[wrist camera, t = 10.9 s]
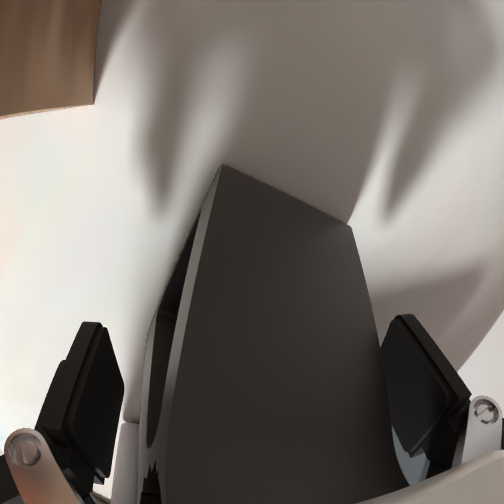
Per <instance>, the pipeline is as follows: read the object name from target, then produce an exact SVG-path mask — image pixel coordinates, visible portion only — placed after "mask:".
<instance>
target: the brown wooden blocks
mask: <svg viewBox="0 0 504 504" xmlns="http://www.w3.org/2000/svg"><path fill="white" fill-rule="evenodd" d="M100 6H101V0H0V119H5V118H10V117H16V116H21V115H27V114H33V113H40V112H47V111H53V110H59V109H65V108H71V107H78V106H86V105H93V91H94V66H95V51H96V40H97V30H98V21H99V13H100Z"/></svg>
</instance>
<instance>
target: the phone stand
mask: <svg viewBox="0 0 504 504" xmlns="http://www.w3.org/2000/svg"><path fill="white" fill-rule="evenodd" d="M408 486H410V484H409V483H408V481H407V479H406V478H405V476H404V474H403V472H402V470H401V467H400V465H399V462H398V459H397V455H396V451H395V447H394V441H393V433H392V424H391V416H390V408H389V401H388V394H387V387H386V381H385V374H384V368H383V363H382V357H381V351H380V346H379V341H378V336H377V331H376V326H375V321H374V316H373V312H372V307H371V303H370V298H369V294H368V290H367V285H366V281H365V277H364V273H363V269H362V265H361V261H360V257H359V254H358V250H357V246H356V243H355V239H354V235H353V232H352V228H351V227H350V226H349V225H347V224H345V223H343V222H341V221H339V220H337V219H335V218H333V217H331V216H329V215H328V214H326V213H324V212H322V211H320V210H318V209H316V208H314V207H312V206H310V205H308V204H306V203H304V202H302V201H300V200H298V199H296V198H294V197H292V196H290V195H288V194H286V193H284V192H281V191H279V190H277V189H275V188H273V187H271V186H269V185H267V184H265V183H263V182H260V181H258V180H256V179H254V178H252V177H250V176H248V175H245V174H243V173H241V172H239V171H237V170H234V169H232V168H230V167H228V166H225V165H223V164H222V165H221V166H220V168H219V170H218V172H217V174H216V176H215V178H214V180H213V182H212V184H211V186H210V188H209V190H208V193H207V195H206V197H205V199H204V201H203V203H202V205H201V208H200V210H199V212H198V214H197V216H196V219H195V221H194V223H193V225H192V227H191V230H190V232H189V234H188V236H187V239H186V241H185V243H184V246H183V248H182V250H181V252H180V255H179V258H178V261H177V263H176V264H175V267H174V269H173V271H172V274H171V276H170V278H169V281H168V283H167V286H166V288H165V291H164V293H163V295H162V298H161V300H160V303H159V305H158V308H157V310H156V313H155V316H154V318H153V321H152V323H151V326H150V328H149V332H148V335H147V341H146V350H145V359H144V370H143V381H142V394H141V408H140V426H139V453H138V489H137V504H356V503H359V502H363V501H367V500H370V499H373V498H376V497H380V496H383V495H386V494H389V493H392V492H395V491H398V490H400V489H403V488H406V487H408Z"/></svg>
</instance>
